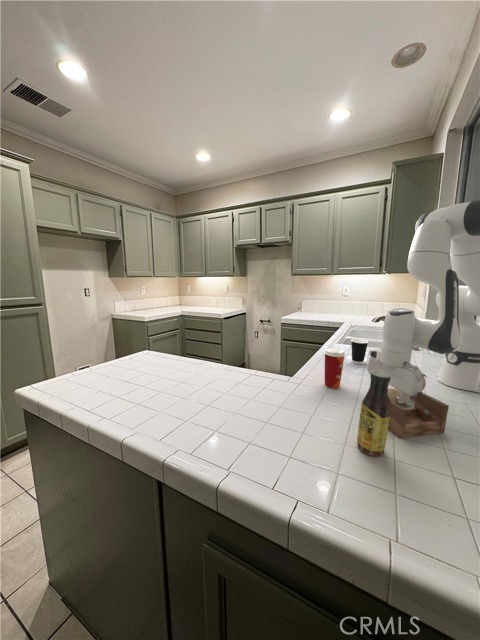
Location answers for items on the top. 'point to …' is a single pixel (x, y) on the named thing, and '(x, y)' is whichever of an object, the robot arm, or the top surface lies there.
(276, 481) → the top surface
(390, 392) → the roll
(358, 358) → the dixie cup
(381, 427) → the sauce bottle
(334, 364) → the paper cup
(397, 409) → the holder
